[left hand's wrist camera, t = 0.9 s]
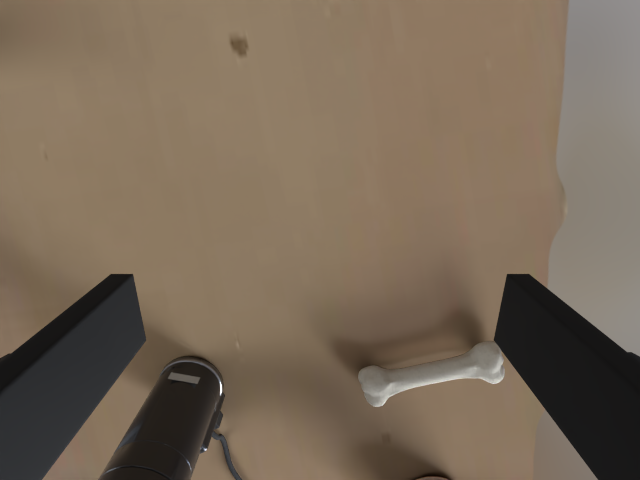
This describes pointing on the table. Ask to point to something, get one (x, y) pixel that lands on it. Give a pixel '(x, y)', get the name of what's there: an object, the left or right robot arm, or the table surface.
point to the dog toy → (432, 373)
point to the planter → (432, 478)
